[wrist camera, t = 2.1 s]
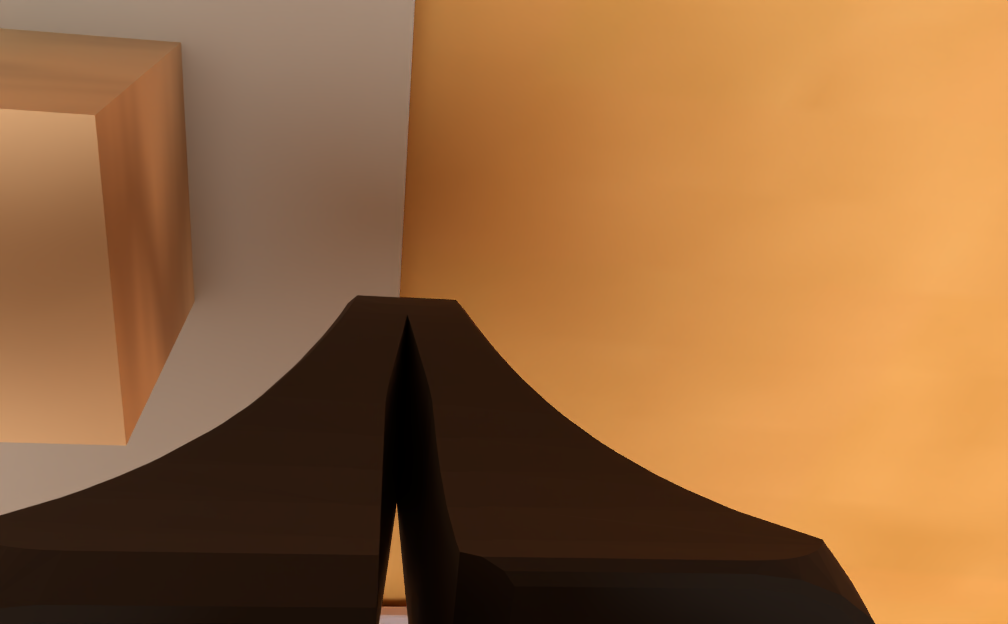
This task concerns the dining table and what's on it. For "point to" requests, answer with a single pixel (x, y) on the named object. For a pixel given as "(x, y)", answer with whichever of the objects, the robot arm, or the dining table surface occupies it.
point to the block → (89, 232)
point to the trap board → (253, 201)
